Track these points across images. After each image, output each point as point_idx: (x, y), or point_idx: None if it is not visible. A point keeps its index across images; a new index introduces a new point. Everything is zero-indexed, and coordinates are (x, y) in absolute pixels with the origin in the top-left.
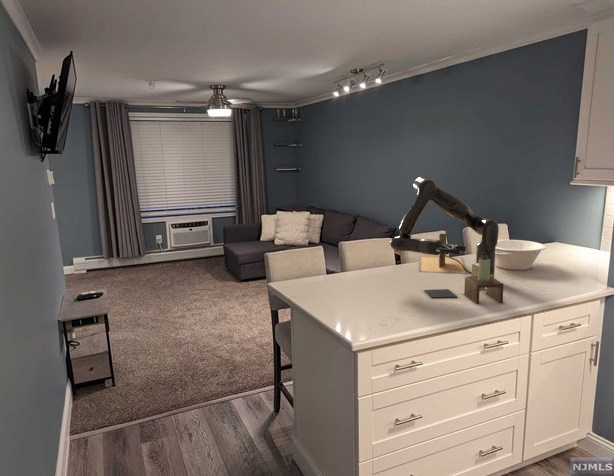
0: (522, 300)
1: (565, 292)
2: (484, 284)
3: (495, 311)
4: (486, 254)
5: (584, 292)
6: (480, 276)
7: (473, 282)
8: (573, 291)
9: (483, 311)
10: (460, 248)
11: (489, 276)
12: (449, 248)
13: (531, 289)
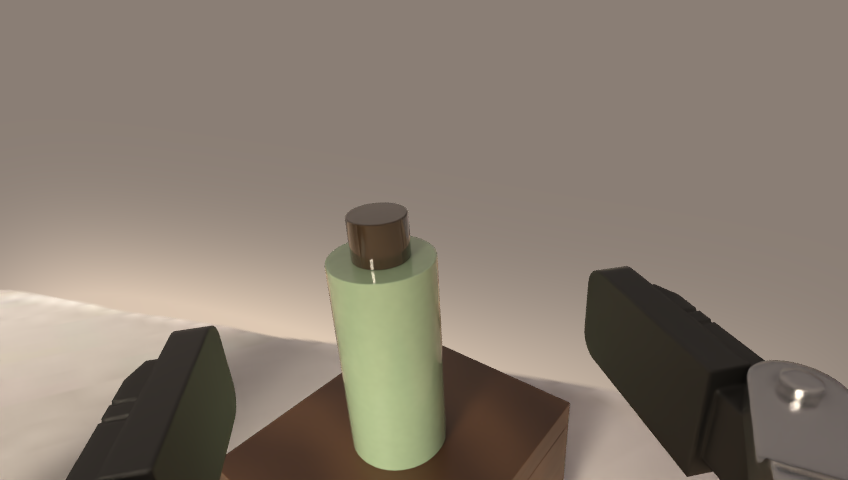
0: (299, 391)
1: (74, 339)
2: (515, 378)
3: (570, 395)
4: (350, 212)
5: (59, 309)
6: (443, 404)
7: (533, 452)
8: (48, 329)
9: (631, 428)
10: (201, 449)
11: (243, 453)
12: (823, 383)
13: (35, 436)
